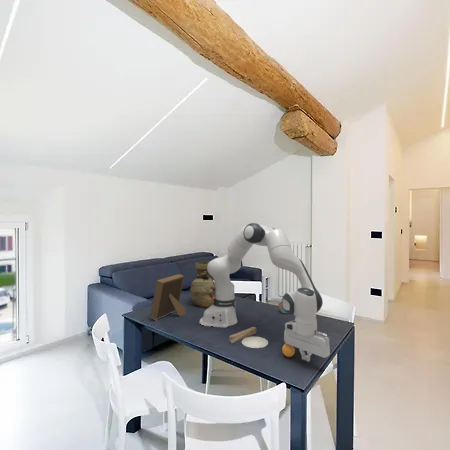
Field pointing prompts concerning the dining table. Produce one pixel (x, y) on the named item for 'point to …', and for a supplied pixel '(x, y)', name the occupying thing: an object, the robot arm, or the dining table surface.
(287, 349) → the ball
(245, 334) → the bar
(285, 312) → the cupcake
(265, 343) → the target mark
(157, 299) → the photo frame
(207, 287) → the ceramic vessel
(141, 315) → the dining table surface
